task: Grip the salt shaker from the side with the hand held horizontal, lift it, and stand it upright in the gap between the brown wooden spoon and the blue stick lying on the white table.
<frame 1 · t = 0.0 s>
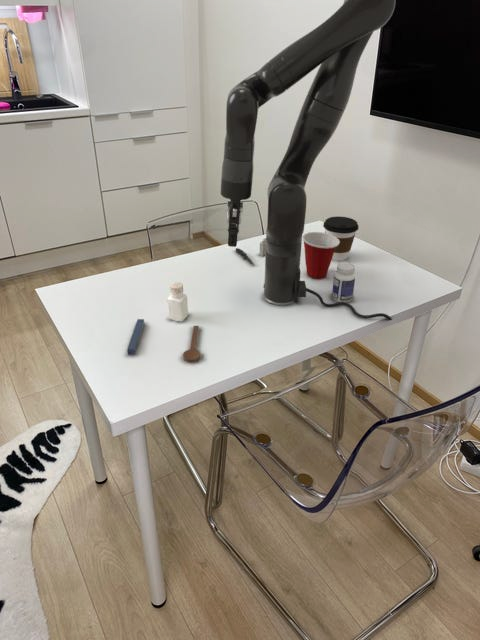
hand: (232, 239, 126), 17 cm above the table, tool pointing down, fingers open, 8 cm apart
wooden spoon: (194, 344, 116), on the table
salt shaker: (178, 318, 127), on the table
pill bottle: (341, 298, 136), on the table
folding knife: (244, 259, 157), on the table
coffee cup: (336, 257, 159), on the table
blue stick: (136, 338, 118), on the table
lighter: (268, 253, 161), on the table
plastic cup: (317, 275, 148), on the table
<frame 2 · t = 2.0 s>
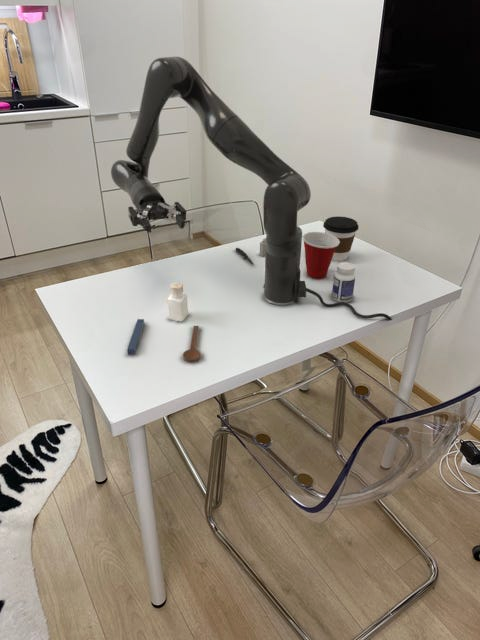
hand: (166, 227, 122), 21 cm above the table, tool horizontal, fingers open, 8 cm apart
nothing on the table moved.
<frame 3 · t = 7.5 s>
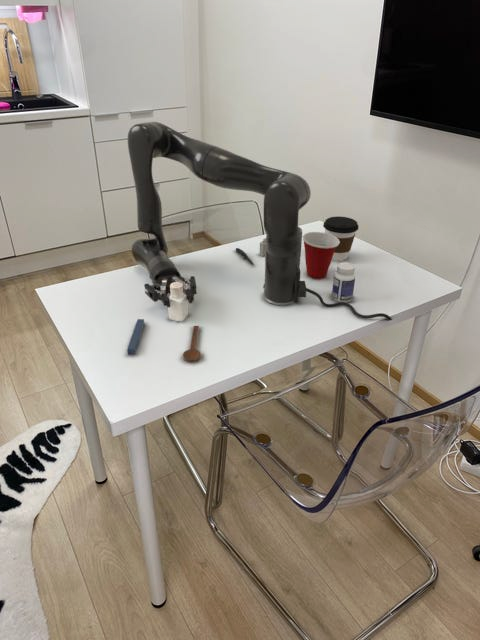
hand: (180, 301, 121), 6 cm above the table, tool horizontal, fingers closed on salt shaker, 5 cm apart
salt shaker: (178, 318, 127), on the table, touching gripper
everything else where it was.
when the fingers open (6 cm above the table, at t = 15.1 s): salt shaker stays where it is, on the table.
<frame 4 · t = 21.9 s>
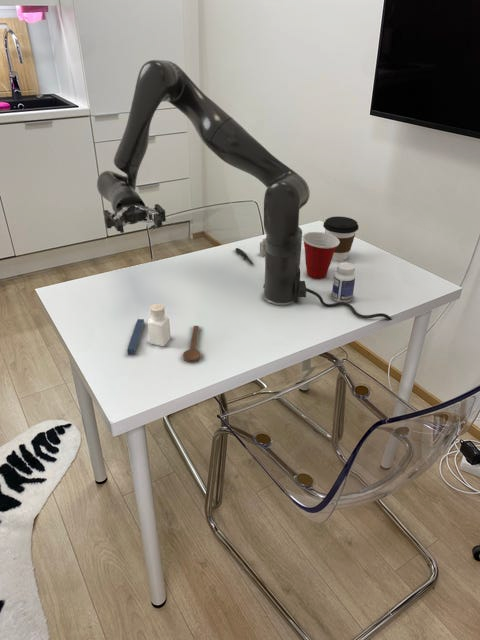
hand: (140, 226, 113), 25 cm above the table, tool horizontal, fingers open, 8 cm apart
salt shaker: (160, 341, 117), on the table
everything else where it was.
at the end: salt shaker inside the target area (0.1 cm from its centre), on the table; salt shaker tilted 0°; the gripper is holding nothing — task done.
